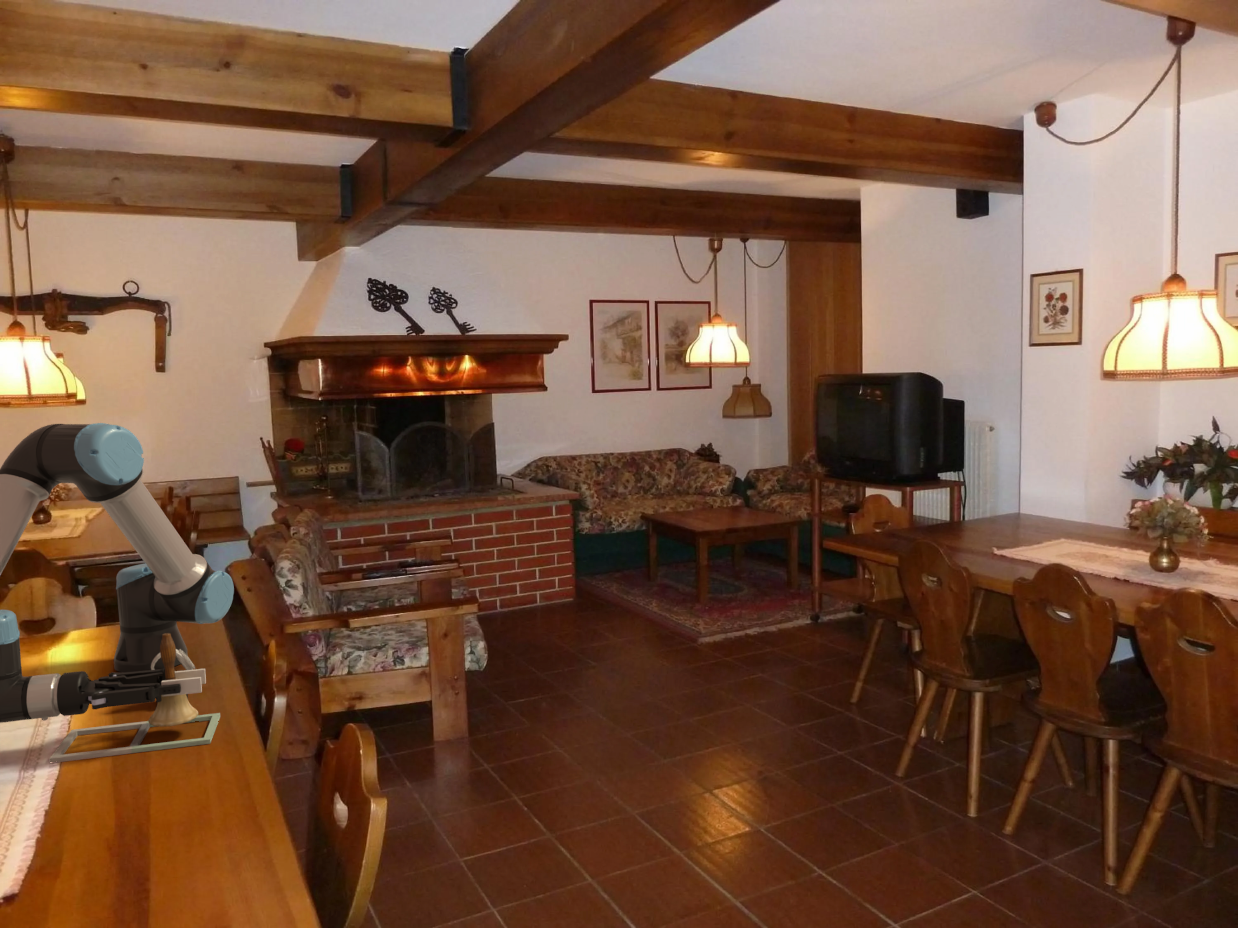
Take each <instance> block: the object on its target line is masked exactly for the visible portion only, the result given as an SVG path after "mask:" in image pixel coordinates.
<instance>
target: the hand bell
mask: <svg viewBox="0 0 1238 928" xmlns="http://www.w3.org/2000/svg"><path fill="white" fill-rule="evenodd" d="M160 655H161V659H162V662H163V664H164V667H165V678H166V680H174V679H176V677H175V671H176V670H175V666H174V663H175V659H176V648H175V644H174V641H173V639H172V637H171V635H170V633H165V634H163V636H162V641H161V645H160ZM156 703H157V705H156V707H155V710H154V712H153V714H151V716H150V717H149V718H148V720H147V721H148V722H149V724H151V725H153V726H155V727H160V728H161V727H172V726H179V725H182V724H187V723H186V722H188V721H191V720H193V719H195V718H196V717H197V716H198V715H199V711H198V710H197V708H195V707H193V705H192V704H191V703H190V702H189V698H188V699H187V696H186V694H182V695H173V696H163V697H162V695H161V702H156Z"/></svg>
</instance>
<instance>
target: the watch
mask: <svg viewBox="0 0 1238 928" xmlns="http://www.w3.org/2000/svg"><path fill="white" fill-rule="evenodd" d="M176 657H177V659H178V660H179V661H180V663H181V664H180V665H181V666H182V667H183V668H184V669H185V670H195V669H196V666H195V664H194V663H193V661H192V659H190V657H189V656H187V655H186V654H185V653H184V652H183V651H182V650H181V649H180V650H177V649H176ZM160 658H161V655H160V653H159V654H158V655H157V656H156V657H155V658H154V659H153V661H152V663H151V670H155V669H154V665H155V663H156V662H157V661H158V659H160ZM186 696H187V699H188V700H189V697H188V696H189V695H188V694H186Z"/></svg>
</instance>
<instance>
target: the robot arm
mask: <svg viewBox="0 0 1238 928" xmlns="http://www.w3.org/2000/svg"><path fill="white" fill-rule="evenodd" d="M143 454H144V449H143V447H142V444H141V442H140V440H139V439H138V438H137V436H136V435H135V434H134V433H133V432H132V431H130V430H129V429H128V428H125V427H124V426H121V425H117V424H111V423H105V422H96V423H89V424H88V423H74V424H73V423H52V424H47V425H44V426H41V427H40V428H38V429H36V430H34V431H33V432H31V433H28V435H27V436H25V437H24V438H23V439H22V440H21V441H20V442H19V443H18V444H17V445H16V446H15V447H14V449H13V450H12V451H11V452H10V453H9V455H8V456H7V457H6V459H5V460H4V462H3V463H2V465H1V467H0V576H1V575H2V573H3V571H4V570H5V568H6V566H7V563H8V562H9V560H10V558H11V557H12V554H13V553H14V550H15V549H16V546H17V545H18V543H19V541H20V539H21V537H22V535H23V533H24V531H25V529H26V528H27V526H28V523H30V520H31V519H32V516H33V514H34V512H35V511H36V509H37V508H38V505H39V503H40V502H41V501H45V500H48V499H49V497H50V495H51V494H52V491H53V489H54V488H56V487H57V486H58V485H60V484H73V485H75V486H76V488H77V489H78V490H79V491H80V493H81V494H82V495H83V496H84V498H85V499H86V500H87V501H89V502H90V503H95V504H101V505H100V506H102V508H103V509H104V510H105V512H106V513H107V514H108V515H109V517H110V518H111V520H112V521H113V522H114V523H115V524H116V526H117V527H118V529H119V530H120V531H121V533H122V534H123V536H124V537H125V539H126V540H127V541H128V542H129V544H130V545H131V546H132V547H133V550H135V551H136V552H137V554H138V555H139V557H140V558H141V559H142V561H143V562H144V563H140V564H136V565H132V566H129V567H128V566H127V567H124V568H122V569H120V570H119V571H118V572H117V574H116V576H115V577H116V579H115V580H116V587H115V590H116V600H117V610H118V620H119V629H120V630H119V632H120V634H119V639H118V641H117V646H116V649H115V653H114V658H113V665H114V671H116V672H113V671H112V672H110V673H108V675H106V676H101V677H98V679H93V680H91V679H90V678H89V675H88V673H87V671H83V670H81V671H72V672H71V671H70V672H64V673H62V674H60V673H59V672H57V673H48V674H38V675H30V676H24V675H23V671H22V668H23V667H22V660H21V656H22V655H21V644H20V643H21V642H20V641H21V640H20V636H21V634H20V633H21V632H20V629H19V624H18V620H17V619H18V618H17V615H16V613H14V612H13V611H12V610H9V609H0V724H1V723H2V724H3V723H11V722H18V721H25V720H27V721H28V720H29V721H30V720H37V719H41V721H42V722H43V721H48V719H49V718H54V717H60V715H62V716H64V717H65V716H66V717H67V716H74V715H83V714H85V713H86V712H87V711H88V710H89V707H90V705H91V709H92V710H99V709H103V708H104V709H105V708H108V707H109V708H111V707H118V706H120V707H121V706H128V705H136V704H144V703H154V702H156V703H158V702H161V695H162V697H163V696H173V695H182V694H189V695H191V694H199V693H202V692H203V688H202V687H203V685H205V684H206V683H207V678H206V677H207V675H206V668H198V669H197V668H195V669H193V670H186V669H185V670H177V671H176V670H174V671H175V677H176V679H174V680H166V678H165V667H164V664H163V662H162V659H161V658H160V659H158V661H157V662H156V663H155V665H154V669H155V670H151V663H152V661H153V659H154V658H155V657H156V656H157V655H158V654H159V653H160V645H161V641H162V636H163V634H165V633H170V635H171V637H172V639H173V641H174V644H175V648H176V649H177V650H180V649H181V650H182V651H183V652H184V653H185V654H186V655H187V656H188V654H189V653H188V647H187V645H186V643H185V641H184V639H183V637H182V634H181V632H180V630H179V627H178V622H179V623H180V622H181V623H190V624H199V625H204V624H214V623H217V622H219V621H221V620H222V619H223V618H224V617H225V616H226V614H227V613H228V612H229V610H230V607H231V606H232V603H233V600H234V594H235V588H234V586H235V585H234V582H233V581H234V580H233V579H232V577H231V576H230V574H228V573H227V572H225V571H222V570H219V569H218V570H214V569H213V568H212V567H211V565H210V564H209V563H208V561H207V560H206V558H205V557H204V556H202V555H200V554H196V553H192V551H191V550H190V548H189V547H188V545H187V544H186V542H184V539H183V538H182V537H181V536H180V534H179V533H178V531H177V530H176V528H175V527H174V525H173V524H172V522H171V521H170V520H169V518H168V517H167V516H166V514H165V512H164V511H163V510H162V508H161V507H160V505H159V504H158V503H157V501H156V500H155V499H154V497H153V495H152V493H150V491H149V490H148V488H147V487H146V485H145V484H144V482H143V480H142V478H143V475H144V468H143V467H144V463H145V459H144V457H142V455H143ZM188 657H189V656H188ZM178 665H182V664H181V663H180V661H179V660H178V659H177V657H176V659H175V663H174V667H177V666H178Z"/></svg>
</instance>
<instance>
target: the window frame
mask: <svg viewBox="0 0 1238 928" xmlns="http://www.w3.org/2000/svg"><path fill="white" fill-rule="evenodd" d="M220 719H221V712H216V713H215V712H214V713H208V714H207V713H206V714H198V716H197V717H196V718H195V719H193V720H191V721H188V722H186V723H185V724H188V723H196V722H195V721H199V722H207V721H209V723H208V726H207V729H206V731H205V734H204V736H203V737H198V738H191V739H189V738H188V739H183V740H182V739H181V740H174V741H167V742H166V741H165V742H159V743H158V742H157V743H150V744H149V743H148V744H142V741H143V740H144V738H145V737H146V735H147V733H148V732H149V729H150V728H153V727H156V726H153V725H151V724H149V722H148V721H149V720H147V721H138V722H127V723H121V724H120V723H118V724H109V725H102V726H95V727H86V728H85V727H84V728H83V727H82V728H75V729H71V730H70V731H69V733H68V734H67V735H66V736H65V737H64V739H63V740H62V742H61V743H60V744H59V746H58V747H57V748H56V750H55V751H54V752H53V753H52V755H51V756H50V757H49V763H50V762H56V761H57V762H56V763H63V762H71V761H79V760H87V759H94V758H97V759H98V758H104V757H112V756H119V755H127V754H135V753H136V754H137V753H143V752H144V753H145V752H152V751H160V750H162V751H163V750H169V749H176V748H184V747H194V746H202V745H203V746H204V745H211V743H212V739H213V737H214V734H215V733H216V730H217V726H218V724H219V722H220ZM218 721H219V722H218ZM135 729H136V730H138V731H137V733H136V735H135V736H134V737H133V739H132V741H131V743H130V744H129V746H125V747H124V746H123V747H117V748H116V747H115V748H107V749H100V750H92V751H91V750H90V751H89V750H88V751H81V752H74V753H66V752H67V750H68V749H69V748H70V746H71V745H72V744H73V742H74V741H75V739H76V738H77V737H78V736H85V735H93V734H101V733H110V732H119V731H128V730H135Z"/></svg>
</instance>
